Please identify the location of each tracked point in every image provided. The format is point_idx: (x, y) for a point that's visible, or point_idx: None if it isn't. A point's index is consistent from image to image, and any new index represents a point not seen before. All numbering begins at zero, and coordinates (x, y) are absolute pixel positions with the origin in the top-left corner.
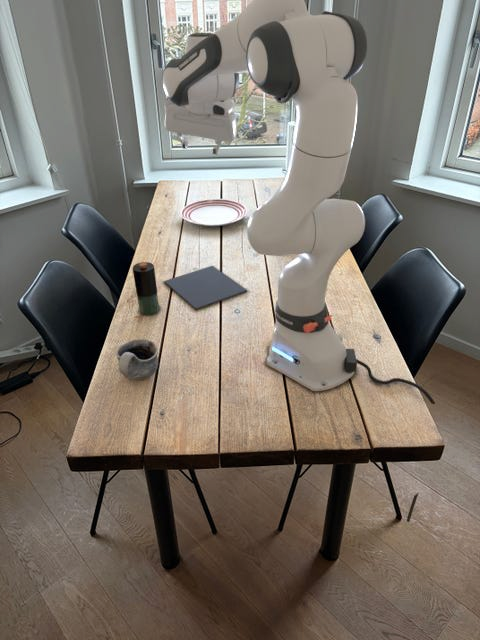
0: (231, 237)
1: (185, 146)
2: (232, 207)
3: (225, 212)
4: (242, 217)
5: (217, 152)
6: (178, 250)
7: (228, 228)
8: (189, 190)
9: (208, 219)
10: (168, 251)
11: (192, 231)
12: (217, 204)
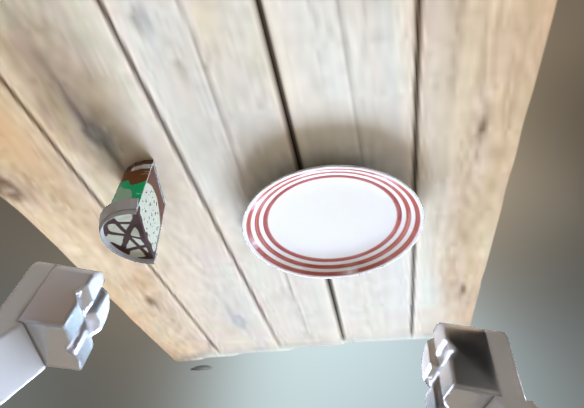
0: (257, 124)
1: (454, 350)
2: (291, 254)
3: (305, 235)
4: (246, 209)
5: (19, 284)
6: (417, 20)
7: (280, 171)
8: (409, 310)
9: (343, 203)
10: (453, 7)
11: (381, 145)
12: (331, 262)
